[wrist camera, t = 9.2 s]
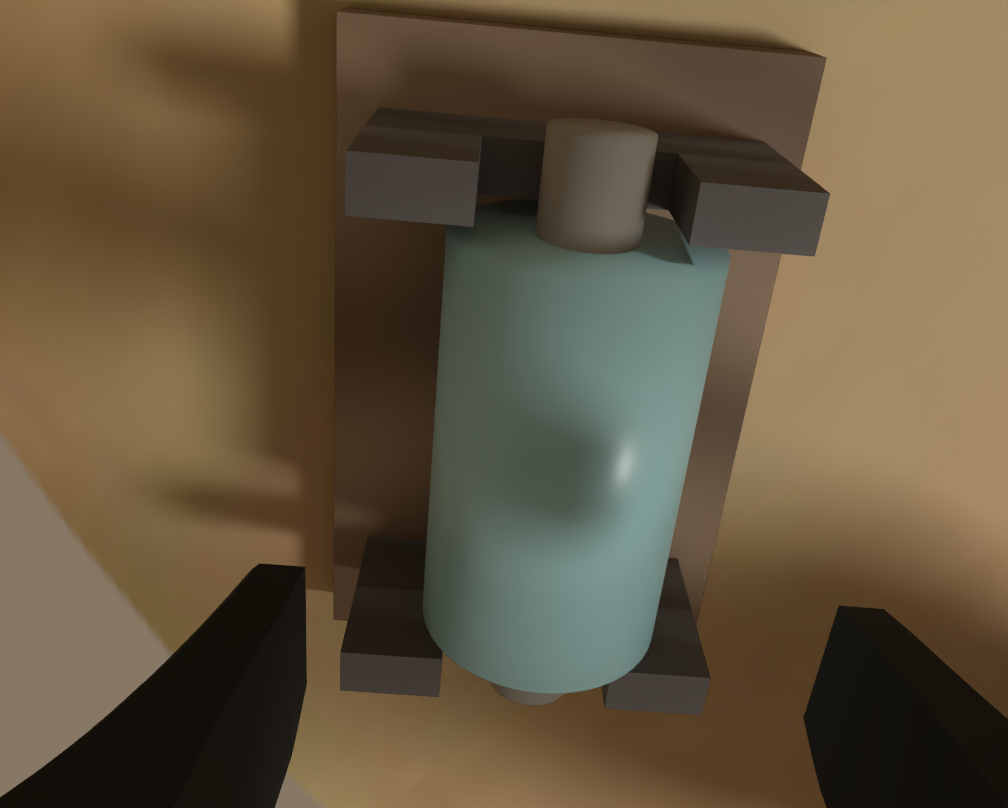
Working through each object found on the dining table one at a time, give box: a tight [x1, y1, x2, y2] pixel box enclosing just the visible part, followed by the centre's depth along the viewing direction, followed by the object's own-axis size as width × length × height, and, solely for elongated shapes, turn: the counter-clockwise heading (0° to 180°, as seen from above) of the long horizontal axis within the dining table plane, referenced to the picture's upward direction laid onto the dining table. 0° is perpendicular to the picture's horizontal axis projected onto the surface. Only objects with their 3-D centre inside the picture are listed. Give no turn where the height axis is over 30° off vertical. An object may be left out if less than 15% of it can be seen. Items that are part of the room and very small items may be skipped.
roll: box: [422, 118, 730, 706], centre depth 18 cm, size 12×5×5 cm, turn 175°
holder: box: [334, 8, 830, 715], centre depth 19 cm, size 14×9×5 cm, turn 175°
